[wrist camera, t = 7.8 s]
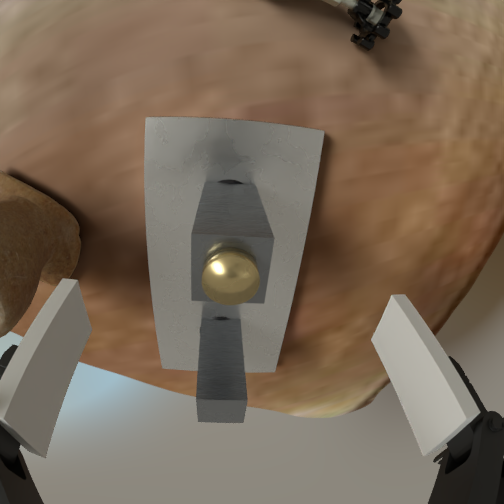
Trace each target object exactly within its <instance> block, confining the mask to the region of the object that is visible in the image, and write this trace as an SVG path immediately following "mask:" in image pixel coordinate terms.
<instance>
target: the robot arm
mask: <svg viewBox="0 0 504 504" xmlns="http://www.w3.org/2000/svg"><path fill="white" fill-rule="evenodd" d="M91 331H92V328H91V325H90V322H89V318H88V315H87V312H86V308H85V305H84V302H83V298H82V294H81V291H80V287H79V283H78V280H74V279H65V278H63V279H62V280H61V281H60V283H59V284H58V286H57V287H56V288H55V290H54V291H53V293H52V294H51V296H50V297H49V299H48V300H47V301H46V303H45V304H44V306H43V307H42V309H41V310H40V312H39V313H38V315H37V317H36V318H35V320H34V321H33V323H32V324H31V326H30V328H29V329H28V331H27V333H26V334H25V336H24V338H23V339H22V341H21V343H20V345H19V346H17V345H12V346H11V347H10V348H9V349H8V350H7V351H5V352H4V354H3V355H2V357H1V359H0V504H44V503H43V501H42V499H41V497H40V495H39V493H38V491H37V489H36V487H35V484H34V482H33V480H32V478H31V475H30V473H29V470H28V468H27V465H26V463H25V460H24V458H23V455H22V453H21V451H20V450H19V448H20V445H22V446H23V447H24V448H26V449H27V450H28V451H29V452H32V453H34V454H36V455H39V456H41V457H44V458H46V454H47V451H48V447H49V444H50V440H51V436H52V433H53V430H54V427H55V424H56V421H57V418H58V414H59V412H60V409H61V406H62V403H63V400H64V397H65V395H66V392H67V389H68V387H69V384H70V381H71V379H72V376H73V374H74V371H75V369H76V366H77V364H78V361H79V359H80V356H81V354H82V352H83V349H84V347H85V345H86V342H87V340H88V338H89V336H90V333H91ZM371 340H372V342H373V344H374V347H375V349H376V351H377V353H378V355H379V357H380V359H381V361H382V363H383V365H384V367H385V369H386V371H387V374H388V376H389V378H390V380H391V382H392V384H393V387H394V389H395V391H396V393H397V395H398V398H399V400H400V402H401V404H402V407H403V409H404V411H405V414H406V416H407V418H408V421H409V423H410V425H411V428H412V430H413V433H414V435H415V437H416V440H417V442H418V445H419V447H420V450H421V453H422V455H423V456H426V455H428V454H430V453H433V452H436V451H437V450H439V449H440V448H441V447H443V446H444V445H445V444H447V446H448V448H447V449H445V450H444V451H443V452H441V453H440V454H439V455H438V456H436V457H435V459H434V461H433V462H436V461H438V460H439V459H440V458H442V457H443V458H442V460H440V461H439V463H438V464H441V465H440V469H439V472H438V475H437V479H436V482H435V485H434V488H433V491H432V493H431V496H430V499H429V502H428V504H504V458H503V456H504V418H502V417H501V415H500V414H498V413H497V412H495V411H489V412H488V411H487V410H486V409H485V407H484V405H483V403H482V402H481V400H480V398H479V396H478V395H477V393H476V391H475V390H474V388H473V386H472V384H471V383H469V379H468V378H467V376H465V373H464V371H463V370H462V368H461V367H460V365H459V364H458V363H457V362H456V361H455V360H454V359H453V358H452V357H450V356H449V357H448V356H447V355H446V353H445V352H444V350H443V349H442V347H441V346H440V344H439V342H438V341H437V339H436V338H435V336H434V335H433V333H432V332H431V330H430V329H429V327H428V326H427V325H426V323H425V322H424V320H423V319H422V317H421V316H420V315H419V313H418V312H417V310H416V309H415V308H414V306H413V305H412V303H411V302H410V301H409V299H408V298H407V297H406V295H391V298H390V300H389V302H388V305H387V307H386V309H385V311H384V314H383V316H382V318H381V320H380V322H379V324H378V326H377V329H376V331H375V333H374V335H373V337H372V339H371Z"/></svg>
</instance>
